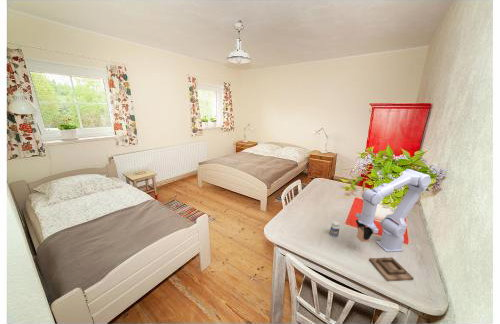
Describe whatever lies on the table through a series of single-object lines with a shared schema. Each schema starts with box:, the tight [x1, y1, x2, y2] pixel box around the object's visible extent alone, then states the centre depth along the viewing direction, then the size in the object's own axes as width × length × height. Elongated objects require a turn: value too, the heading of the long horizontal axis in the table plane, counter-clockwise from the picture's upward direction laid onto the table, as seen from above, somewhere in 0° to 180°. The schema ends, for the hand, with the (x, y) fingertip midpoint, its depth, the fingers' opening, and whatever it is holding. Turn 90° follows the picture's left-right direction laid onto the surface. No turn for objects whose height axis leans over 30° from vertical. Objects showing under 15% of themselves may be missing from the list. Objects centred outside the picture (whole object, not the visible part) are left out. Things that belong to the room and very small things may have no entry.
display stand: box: [368, 256, 414, 282], centre depth 89 cm, size 12×12×3 cm
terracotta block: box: [356, 227, 371, 243], centre depth 99 cm, size 4×4×6 cm
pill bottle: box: [329, 220, 341, 238], centre depth 113 cm, size 5×5×8 cm
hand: (363, 236), depth 99 cm, fingers closed on terracotta block, 4 cm apart
